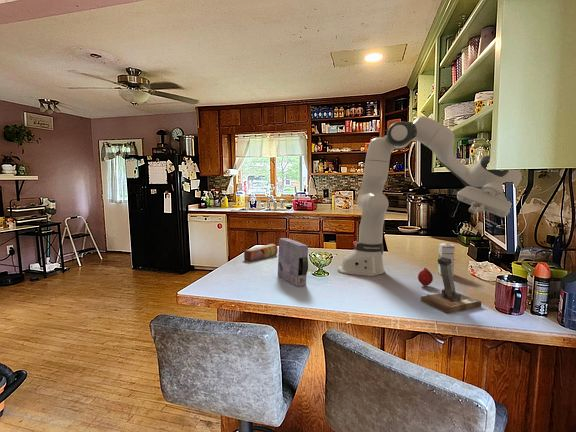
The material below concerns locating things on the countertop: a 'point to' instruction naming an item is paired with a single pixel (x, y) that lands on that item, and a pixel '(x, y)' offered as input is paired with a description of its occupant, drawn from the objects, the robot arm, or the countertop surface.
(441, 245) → the white cylindrical container
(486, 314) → the countertop surface
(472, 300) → the switch base
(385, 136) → the robot arm
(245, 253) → the snack package
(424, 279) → the onion
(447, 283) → the lever
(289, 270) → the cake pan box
